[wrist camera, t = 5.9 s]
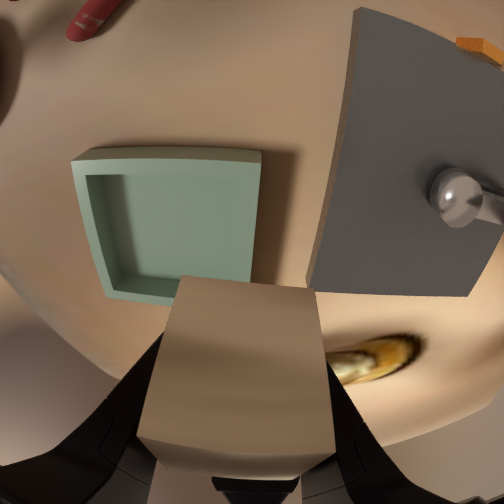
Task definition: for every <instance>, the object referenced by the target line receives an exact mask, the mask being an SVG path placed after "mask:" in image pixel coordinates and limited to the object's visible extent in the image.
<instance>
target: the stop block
mask: <svg viewBox="0 0 504 504" xmlns="http://www.w3.org/2000/svg"><path fill="white" fill-rule="evenodd" d="M137 437H138V438H139V439H140V441H141V442H142V443H143V444H144V445H145V446H146V447H147V449H148V450H149V451H150V452H151V453H152V454H153V455H154V456H155V458H156V459H157V460H158V461H159V462H160V463H161V464H162V465H163V466H164V467H165V468H166V469H169V470H174V471H181V472H186V473H192V474H199V475H206V476H214V477H224V478H236V479H253V480H293V479H294V478H296V477H298V476H299V475H301V474H303V473H304V472H306V471H308V470H309V469H311V468H313V467H314V466H316V465H317V464H319V463H320V462H322V461H323V460H325V459H327V458H328V457H329V456H331V455H332V454H334V453H335V452H336V448H335V437H334V426H333V417H332V408H331V399H330V390H329V382H328V375H327V367H326V360H325V353H324V346H323V339H322V332H321V326H320V320H319V314H318V307H317V302H316V296H315V290H314V289H311V288H300V287H289V286H279V285H269V284H259V283H249V282H240V281H231V280H222V279H213V278H204V277H196V276H188V275H182V277H181V280H180V283H179V286H178V289H177V292H176V295H175V298H174V302H173V305H172V308H171V311H170V314H169V318H168V321H167V324H166V327H165V331H164V334H163V337H162V341H161V344H160V348H159V351H158V355H157V358H156V362H155V365H154V369H153V372H152V376H151V380H150V383H149V387H148V391H147V395H146V399H145V403H144V407H143V411H142V415H141V419H140V423H139V427H138V431H137Z"/></svg>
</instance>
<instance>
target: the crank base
mask: <svg viewBox="0 0 504 504" xmlns="http://www.w3.org/2000/svg"><path fill="white" fill-rule="evenodd" d="M503 59H504V52H503V51H501V50H500V49H498V48H497V47H495V46H494V45H492V44H491V43H490V42H488V41H486V40H485V39H483V38H464V37H457V40H456V44H455V43H453V42H451V41H449V40H447V39H445V38H443V37H441V36H439V35H437V34H435V33H432V32H430V31H428V30H426V29H423V28H421V27H419V26H416V25H414V24H411V23H409V22H406V21H404V20H401V19H398V18H396V17H393V16H390V15H387V14H384V13H381V12H378V11H374V10H371V9H368V8H364V7H360V8H358V9H356V10H354V12H353V23H352V32H351V42H350V50H349V58H348V66H347V73H346V81H345V88H344V94H343V101H342V107H341V113H340V119H339V125H338V131H337V137H336V142H335V148H334V153H333V159H332V164H331V169H330V174H329V179H328V184H327V189H326V193H325V198H324V203H323V207H322V212H321V216H320V221H319V225H318V230H317V234H316V238H315V242H314V247H313V251H312V255H311V259H310V263H309V267H308V271H307V275H306V283H307V288H311V289H314V290H315V291H316V292H334V293H353V294H376V295H404V296H451V297H468V295H469V293H470V292H471V290H472V289H473V287H474V285H475V284H476V282H477V280H478V279H479V277H480V275H481V274H482V272H483V270H484V268H485V266H486V265H487V263H488V261H489V259H490V257H491V255H492V254H493V252H494V250H495V248H496V246H497V244H498V242H499V240H500V238H501V236H502V233H503V231H504V226H503V225H500V224H497V223H493V222H489V221H485V220H481V219H476V218H475V219H474V220H473V221H472V222H470V223H469V224H468V225H466V226H464V227H461V228H453V227H450V226H448V225H447V224H446V223H445V221H444V220H443V219H442V218H441V217H440V216H439V215H438V213H437V212H436V211H435V210H434V209H433V207H432V205H431V203H430V189H431V186H432V184H433V182H434V180H435V178H436V177H437V176H438V175H439V174H440V173H441V172H442V171H444V170H446V169H448V168H459V169H461V170H462V171H464V172H465V173H466V174H468V175H469V176H470V177H471V178H473V179H474V180H475V181H476V182H478V183H479V185H480V186H481V189H482V190H484V191H487V192H490V193H493V194H496V195H498V196H501V197H504V73H503V72H502V71H500V70H499V69H497V68H496V67H494V66H493V65H491V64H490V63H492V64H497V65H502V66H503Z"/></svg>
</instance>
